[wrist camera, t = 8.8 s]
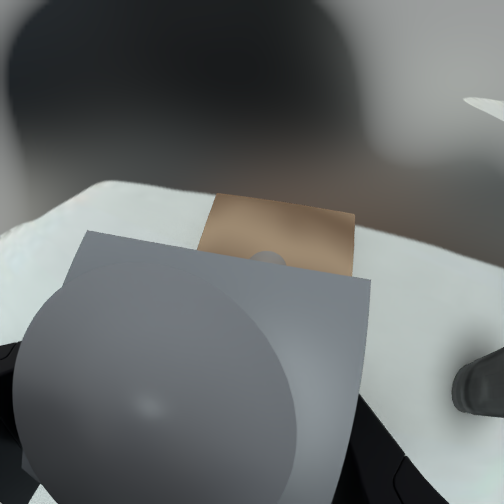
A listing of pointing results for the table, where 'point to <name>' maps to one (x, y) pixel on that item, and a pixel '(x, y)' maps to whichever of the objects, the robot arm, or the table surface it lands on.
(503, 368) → the beverage cup
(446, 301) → the table surface
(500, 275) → the table surface
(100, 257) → the domed grey block
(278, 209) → the wooden board
